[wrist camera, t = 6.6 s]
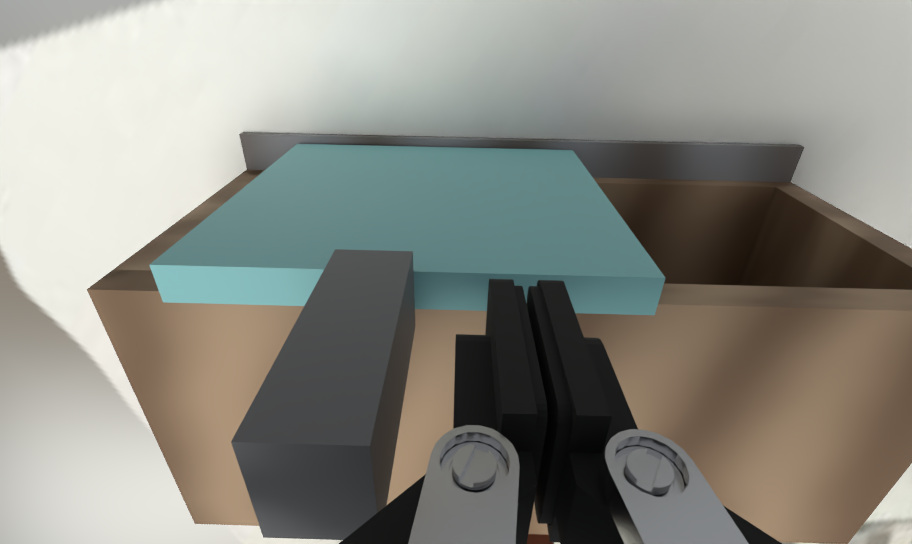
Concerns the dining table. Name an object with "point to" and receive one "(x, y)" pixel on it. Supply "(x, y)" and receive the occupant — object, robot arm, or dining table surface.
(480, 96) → the dining table surface
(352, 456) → the door
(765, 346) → the cabinet
